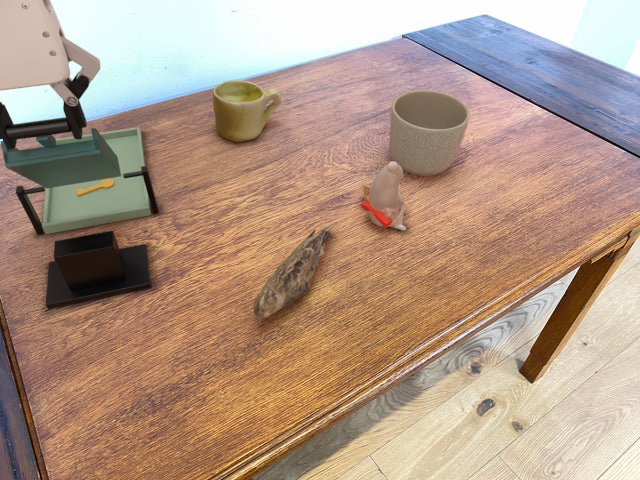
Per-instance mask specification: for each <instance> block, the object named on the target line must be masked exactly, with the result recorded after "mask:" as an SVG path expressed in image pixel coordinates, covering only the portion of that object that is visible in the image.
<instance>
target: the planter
mask: <svg viewBox="0 0 640 480" xmlns="http://www.w3.org/2000/svg"><path fill="white" fill-rule="evenodd" d="M390 112H391V113H390V120H389V121H390V122H389V153H390V157H391V159H392V161H395V162H397V163H398V165H400V166H401V167H402V169H403V172H406V173H408V174H410V175H413V176H419V177H431V176H436V175H438V174H441V173H443V172H445V171H446V170H448V169H449V168H450V167H451V166H452V164H453V163H454V161H455V159H456V157H457V156H458V153H459V150H460V148H461V145H462V143H463V140H464V137H465V134H466V131H467V127H468V124H469V121H470V117H471V112H470V109H469V107H468V105H467V104H466V103H465V102H464V101H463V100H461V99H460V98H458V97H456V96H455V95H453V94H450V93H446V92H444V91H440V90H435V89H414V90H408V91H406V92H403V93H401V94H399V95H398V96H396V97H395V98H394V100H393V102H392V105H391V110H390Z"/></svg>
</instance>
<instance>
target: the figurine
mask: <svg viewBox="0 0 640 480" xmlns="http://www.w3.org/2000/svg"><path fill="white" fill-rule="evenodd" d="M403 176H404V170H403V169H402V167H401V166H400V165H398V163H397V162H395V161H394V160H390V161H389V162H388V163H387V164H385V165H384V166H383V167H382V168H381V169H380V171H378V173H377V175H376V176H375V177H374V179H373V180H372V183H371V185H367V184H366V183H364V184H362V185H363V196H364V200H363V201H362V202H360V206H361V208H362V209H364V210H365V211H366V212H368V218H369V219H370V221H371V222H372V223H373V224H374V225H376V226H378V227H380V228H381V227H382V228H383V227H384V228H385V229H387V228H388V227H390V228H395V229H397V230H400V231H406V230H407V227H406V226H404V215H405V212H406V210H407V206H406V205H407V204H406V203H405V201H404V196H403V192H402V190H401V189H400V183H401V181H402V178H403Z"/></svg>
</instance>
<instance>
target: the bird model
mask: <svg viewBox="0 0 640 480" xmlns="http://www.w3.org/2000/svg"><path fill="white" fill-rule="evenodd" d="M337 224H338V221H335V222H333V223H331V224H330V225H328V226H325V227H324V228H323V229H322V230H319V231H318V232H317V233H316V229H315V228H314V229H313V230H312V231H311V232H310V233H309V235H308V236H306V238H305V239H304V240H303V241H302V242H300V243H299V244H298V246H297V247H295V248H294V250H293V251H292V252H291V253H290V254H289V255H288V256H287V257H286V258H285V259H284V260H283V261H282V262H281V263H280V264H279V266H278V267H277V268H276V270H275V271H274V272H273V274H272V275H271V276H270V277H269V278H268V279H267V280H266V282H265V283H264V284H263V286H262V288H261V290H260V292H259V293H257V296H256V297H255V299H254V302H253V313H254V315H255V316H256V320H257V322H258V325H260V324H261V322H262V320H263V319H266V318H268V317H270V316H271V315H273V314H275V313H277V312H278V311H280V310H281V309H283V308H285V307H287V306H288V305H290V304H291V303H293V302H295V301H296V300H298V299H300V298H302V297H304V296H305V295H306V294H307V292H308V291H309V289H310V287H311V285H312V282H313V280H314V277H315V273H316V268H318V267H319V261H320V257H321V256H324V254H325V251H324V249H326V247H325V245H326V243H328V241H329V240H332V239H333V236H330V234H331V232H329V231H330V230H331V229H332V227H334V226H335V225H337ZM315 233H316V234H315Z"/></svg>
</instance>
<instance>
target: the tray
mask: <svg viewBox="0 0 640 480" xmlns="http://www.w3.org/2000/svg"><path fill="white" fill-rule="evenodd" d="M99 133H100V135H101V136H102V137H103V139H104V140H105V141H106V142H107V144H108V145H109V146H110V148H111V149H112V150H113V151H114V153H115V154H116V155H117V157H118V162H119V167H120V172H121V177H115V178H109V179H113V180H114V183H115V184H114V186H113V187H111V188H108V189H104V188H101V189H99V190H96V191H93V192H90V193H88V194H85V195H82V196H80V197H78V195H77V193H76V190H77V189H79V188H82V189H86V188H89V187H92V186H94V185H97V184H100V182H101V181H102V180H104V179H102V180H96V181H90V182H84V183H78V184H71V185H65V186H59V187H53V188H45V191H44V192H45V193H44V200H43V201H44V202H43V210H42V211H43V212H42V221H41V223H42V228H43V230H44V232H43V233H45V235H49V234H54V233H60V232H66V231H71V230H78V229H83V228H88V227H93V226H99V225H105V224H110V223H116V222H121V221H126V220H133V219H138V218H143V217H149V216H152V215H153V214H152V207H151V203H150V200H149V196H148V193H147V189H146V186H145V182H144V179H143V176H137V177H131V178H124V176H123V174H124V173H131V172H137V171H141V167H142V166H147V164H146V158H145V150H144V149H145V148H144V139H143V133H142V129H141V127H140V126H137V127H131V128H123V129H117V130H110V131H101V132H99ZM55 139H56V144H57V145H60V144H67V143H74V142H81V141H88V140H93V136H92V133H88V134H82V139H79V140H77V139H74V136H73V135H72V136H67V137H59V138H55Z"/></svg>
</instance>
